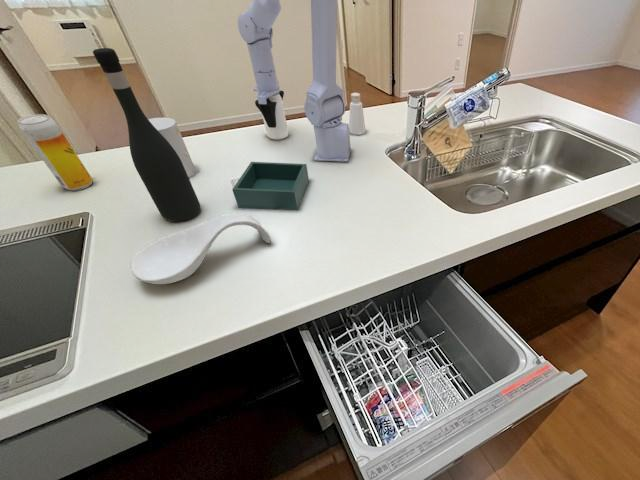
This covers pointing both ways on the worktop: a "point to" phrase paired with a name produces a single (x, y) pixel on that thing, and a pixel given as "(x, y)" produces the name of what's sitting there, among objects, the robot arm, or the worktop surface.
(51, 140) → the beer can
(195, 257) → the spoon rest
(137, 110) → the wine bottle
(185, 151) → the cup
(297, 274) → the worktop surface
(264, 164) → the box
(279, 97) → the can
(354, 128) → the pepper shaker
